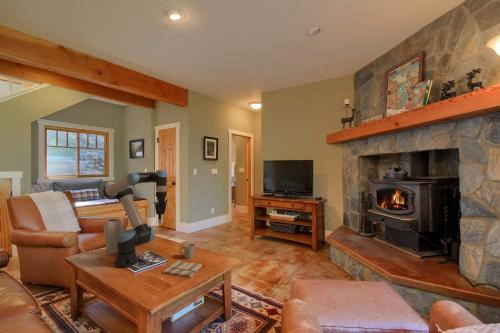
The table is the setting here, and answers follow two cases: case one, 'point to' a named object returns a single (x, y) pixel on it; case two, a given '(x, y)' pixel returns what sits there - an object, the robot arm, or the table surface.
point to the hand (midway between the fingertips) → (160, 223)
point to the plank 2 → (192, 267)
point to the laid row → (179, 272)
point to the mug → (188, 250)
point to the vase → (112, 235)
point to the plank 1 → (179, 265)
